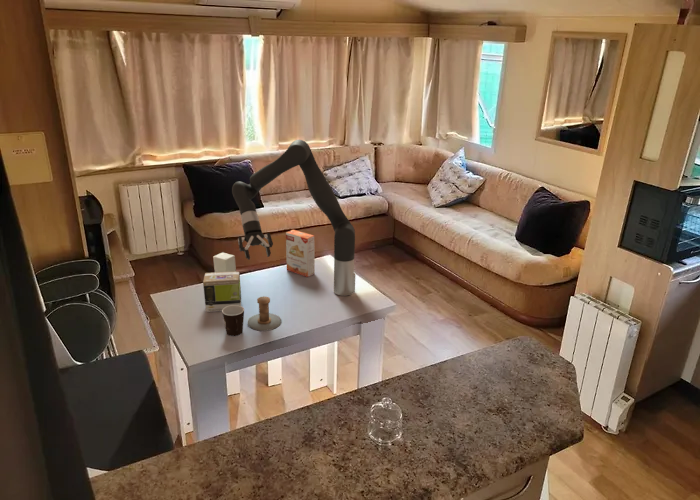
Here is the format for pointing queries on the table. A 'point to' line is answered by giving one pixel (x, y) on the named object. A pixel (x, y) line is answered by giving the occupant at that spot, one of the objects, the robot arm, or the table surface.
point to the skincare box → (224, 262)
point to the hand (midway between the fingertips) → (258, 257)
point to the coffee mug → (233, 319)
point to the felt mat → (264, 327)
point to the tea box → (221, 290)
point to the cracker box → (300, 253)
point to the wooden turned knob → (264, 310)
